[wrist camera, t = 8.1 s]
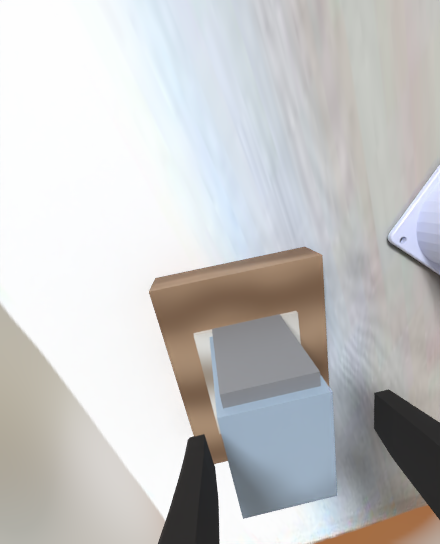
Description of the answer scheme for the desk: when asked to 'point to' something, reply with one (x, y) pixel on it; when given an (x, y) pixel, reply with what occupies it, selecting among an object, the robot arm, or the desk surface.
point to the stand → (236, 320)
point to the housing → (272, 416)
